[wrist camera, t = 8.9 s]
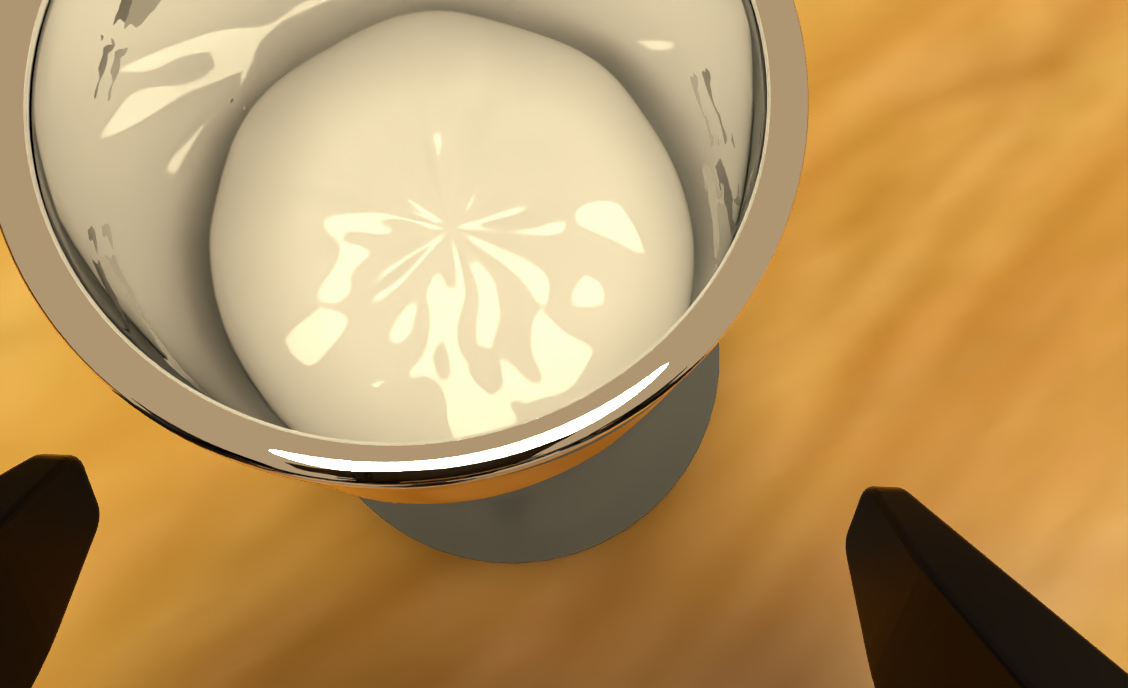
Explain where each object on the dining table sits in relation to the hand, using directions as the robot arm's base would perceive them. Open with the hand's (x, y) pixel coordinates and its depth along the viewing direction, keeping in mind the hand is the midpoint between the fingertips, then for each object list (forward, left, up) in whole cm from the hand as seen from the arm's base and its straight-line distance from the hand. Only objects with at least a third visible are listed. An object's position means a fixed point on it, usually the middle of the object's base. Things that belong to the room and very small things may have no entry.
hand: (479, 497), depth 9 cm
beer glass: (+3, 0, -12) cm, 12 cm away
